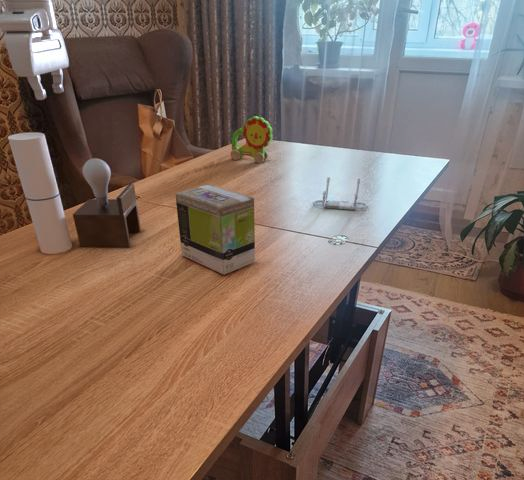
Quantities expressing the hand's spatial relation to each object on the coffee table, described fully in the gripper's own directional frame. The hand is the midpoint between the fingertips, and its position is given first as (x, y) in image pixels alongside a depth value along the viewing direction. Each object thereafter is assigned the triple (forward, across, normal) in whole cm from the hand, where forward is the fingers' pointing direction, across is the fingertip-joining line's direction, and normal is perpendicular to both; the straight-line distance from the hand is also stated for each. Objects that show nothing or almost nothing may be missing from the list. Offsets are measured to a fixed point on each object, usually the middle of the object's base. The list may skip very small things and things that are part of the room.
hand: (50, 96), depth 105 cm
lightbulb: (+23, +4, +8) cm, 25 cm away
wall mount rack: (+31, -24, +68) cm, 79 cm away
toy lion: (+31, -72, +39) cm, 88 cm away
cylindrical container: (+31, +10, -3) cm, 33 cm away
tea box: (+31, +15, +37) cm, 51 cm away
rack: (+31, +4, +9) cm, 33 cm away
